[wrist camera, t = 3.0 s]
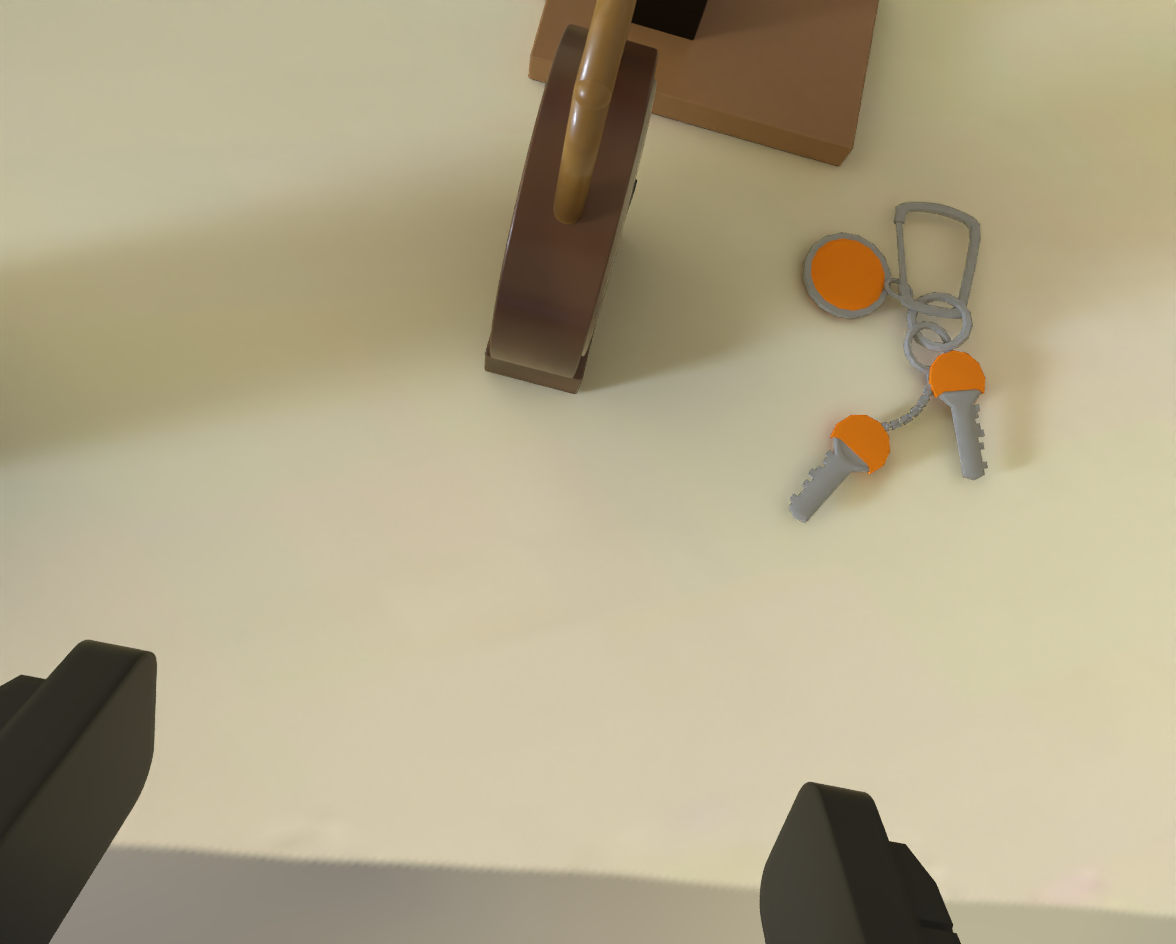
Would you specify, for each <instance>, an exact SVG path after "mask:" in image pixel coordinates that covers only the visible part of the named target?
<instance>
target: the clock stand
mask: <svg viewBox="0 0 1176 944" xmlns="http://www.w3.org/2000/svg"><path fill="white" fill-rule="evenodd" d="M878 2H879V0H637V1H636V5H635V9H634V13H633V17H632V21H631V25H630V29H629V33H628V37H627V40H628V41H632V42H635V43H638V44H642V45H645V46H649V47H652V48H656V49H657V50H658V61H657V66H656V71H655V76H654V79H656V81H657V84H656V91H655V97H654V102H653V107H652V111H651V113H654V114H657V115H661V116H664V117H668V118H671V119H675V120H678V121H682V122H685V123H689V124H692V125H696V126H699V127H703V128H706V129H710V130H713V131H717V132H720V133H724V134H727V135H731V136H734V137H738V138H742V139H745V140H749V141H752V142H756V143H759V144H763V145H766V146H770V147H773V148H777V149H780V150H784V151H787V152H791V153H794V154H798V155H801V156H805V157H808V158H812V159H815V160H819V161H822V162H826V163H829V164H833V165H836V166H840V165H841V164H842V162H843V161H844V160H845V158H846V157H847V156H848V154H849V153H850V152H851V150H852V149H853V144H854V139H855V133H856V127H857V122H858V116H859V110H860V104H861V99H862V93H863V87H864V82H865V76H866V70H867V65H868V59H869V53H870V48H871V42H872V36H873V30H874V25H875V19H876V13H877V8H878ZM596 3H597V0H546V2H545V6H544V9H543V13H542V17H541V20H540V24H539V27H538V31H537V34H536V38H535V41H534V45H533V48H532V52H531V55H530V65H529V78H531V79H534V80H538V81H541V82H545V83H546V82H547V78H548V75H549V72H550V69H551V65H552V62H553V59H554V56H555V53H556V50H557V47H558V44H559V42H560V39H561V36H562V34H563V32H564V30H565V28H566V27H567V25H569V24H573V25H577V26H580V27H584V28H587V29H590V25H591V21H592V18H593V14H594V10H595V6H596Z"/></svg>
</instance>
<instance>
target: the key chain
mask: <svg viewBox="0 0 1176 944" xmlns="http://www.w3.org/2000/svg"><path fill="white" fill-rule="evenodd" d="M908 212H928V213H935V214H939V215H943V216H947V217H950V218H952V219H955V220H958V221H960V222H962V223H964V224H965V225H966V226H967V227H968V229H969V247H968V253H967V259H966V264H965V270H964V274H963V279H962V283H961V288H960V292H959V297H958V299H957V298H956V297H954V296H952V295H950V294H946V293H938V292H933V293H930V294H926V295H923V296H920V297H919V298H918V299H917V300H916V301H915V300H913V299H912V297H913V291H912V289H911V287H910V286H909V285H908V284H907V279H906V266H905V254H904V241H903V229H902V225H903V224H904V222H905V216H906V213H908ZM894 224H896V231H897V246H898V261H899V277H900V279H896V278H891V279H890V277H891V273H890V270H889V267H888V265H887V262H886V259H885V257H884V256H883V255H882V253H881V252H880V251H879V250H878V249H877V248H876V246H875V245H874V244H873V243H871V242H869V241H867V240H866V239H864V238H862V237H860V236H859V235H853V234H848V233H837V234H833V235H828V236H825V237H824V238H822V239H821V240H820V241H818V242H817V243H816V244H814V245H813V246H812V247H811V249H810V251H809V253H808V255H807V256H806V258H805V260H804V266H803V280H804V283H805V286H806V289H807V292H808V294H809V295H810V296H811V298H812V299H813V300H814V301H815V302H816V304H817V305H818V306H819V307H820V308H822V309H823V310H825V311H827V312H828V313H830V314H832V315H834V316H837V317H843V318H849V319H854V318H859V317H863V316H867V315H869V314H870V313H872V312H873V311H874V310H875V309H877V308H878V307H879V306H881V305H882V304H883V302H884V300H885V298H886V296H887V294H889V295H890V296H892V297H893V298H895V299H897V300H900V302H901V304H902V305H903V306H904V307H906V308H908V309H909V312H908V315H907V317H906V318H907V324H908V332H907V333H906V336H905V340H904V351H905V356H906V358H907V359H908V361H909V362H910V364H911V365H912V366H913V367H915V368H916V369H918V370H919V371H921V372H923V373H927V378H926V381H927V384H926V385H925V387H924V390H923V393H924V395H922V396H921V397H920V399H919V400H918V402H917V403H919V404H918V405H915V406H914V407H913V408H912V409H911V410H910V412H911V413H910V414H909V413H907V414H905V415H903V416H902V417H900V418H901V420H900V421H899V419H896V420H893V421H890V424H887V422H885V423H880V422H878V421H876V420H874V419H873V418H871V417H869V416H867V415H850V416H849V417H847V418H845V419H844V420H842V421H841V422H839V423H837V424H836V426H835V428H834V430H833V432H832V434H831V436H830V438H833V451H834V453H833V452H832V451H831V450H829V451H828V452H827V453H826V454H825V456H826V458H825V459H824V461H823V462H824V463H825V464H826V465H825V467H824V468H822V467H820V466H818V467H817V468H816V469H812V470H811V471H810V472H809V473H808V474H809V475H810V476H811V477H812V478H813V480H812V481H811V482H809V481H808V480H805V481H804V483H803V484H802V486H804V487H805V489H804V490H803V491H802V492H801V493H800V494H799V495H798V496H796V495H795V494H793V495H792V496H791V497H790V498H789V499H790V500H791V501H792V503H791V504H790V505H789V506H788V507H789V509H790V511H791V513H792V515H793V517H794V518H796V519H798V520H800V521H802V522H804V523H806V522H807V521H808V520H809V519H810V517H811V516H812V515H813V514H814V513H815V512H816V511H817V510H818V509H819V507H820V506H821V505H822V504H823V503H824V502H825V501H826V500H827V498H828V497H829V496H830V495H831V494H832V493H833V492H834V491H835V489H836V488H837V487H838V486H839V485H840V484H841V483H842V482H843V481H844V479H845V478H846V477H847V476H848V475H849V474H850V473H851V472H868V474H871V473H872V472H874V471H876V470H877V469H879V468H880V467H882V466H883V465H884V463H885V461H886V459H887V457H888V455H889V453H890V444H889V436H888V434H887V432H886V431H889V428H892V430H893V429H896V428H899V427H901V426H902V425H901V423H904V425H905V424H907V423H908V422H910V421H911V420H913V418H912V417H913V416H914V417H917V416H918V415H919V414H920V413H921V411H922V409H921V408H922V407H926V405H927V403H928V402H929V400H930V399H929V396H931V395H932V393H933V395H934V397H935V398H936V397H939V398H940V399H941V400H942V401H943V402H945V403H946V404H947V405H948V406H950V407H951V411H952V417H953V423H954V428H955V434H956V440H957V445H958V451H959V457H960V462H961V468H962V474H963V477H964V478H968V479H972V480H976V479H978V478H980V477H981V476H983V475H985V473H984V469H985V468H988V466H987V462H982V457H981V451H980V450H981V449H984V444H983V443H979V440H978V437H982V436H985V435H984V430H981V427H980V423H979V424H976V423H975V418H978V417H979V416H978V411H980V408H979V404H978V405H973V404H974V403H975V401H976V400H977V398H978V397H979V395H980V394H983V393H984V390H985V376H984V374H983V372H982V369H981V367H980V365H979V363H978V362H977V361H976V360H975V359H973V358H972V357H971V356H970V355H969V354H968V353H964V352H959V351H954V350H953V349H956V348H959V347H960V346H961V345H962V344H963V343H964V342H965V341H966V340H967V339H968V338H969V335H970V332H971V329H972V326H973V325H972V320H971V314H970V312H969V310H968V309H967V303H968V298H969V294H970V289H971V285H972V280H973V276H974V271H975V266H976V260H977V255H978V249H979V243H980V224H979V223H978V221H977V220H976V219H975V218H973V217H972V216H970V215H968V214H966V213H964V212H962V211H959V210H957V209H954V208H952V207H949V206H945V205H941V204H935V203H925V202H909V203H902V204H900V205H898V206H896V211H895V217H894ZM890 283H897V284H899V286H898V290H899V295H898V294H896V293H894V292H893V291H892V290H891V289H890ZM933 301H943V302H947V303H949V304H951V305H953V306H954V308H952V309H948V308H942V307H937V306H932V305H928V304H926V303H929V302H933ZM918 312H920V313H924V314H928V315H932V316H937V317H943V318H952V319H960V318H962V322H963V326H962V329H961V332H960V334H959V335H958V336H957V337H956V338H955V339H954V340H952V341H951V339H950V337H949V335H948V334H947V332H946V331H945V329H943V328H942V327H940V326H939V325H937V324H936V323H932V322H926V321H923V322H920V323H916V317H917V314H918ZM923 329H930V330H933V331H935V332H936V333H938V334H939V336H940V337H941V339H942V340H943V342H944V343H938V342H932V341H930V340H928V339H927V338H925V337H923V335H922V334H921V333H920V330H923ZM912 338H914V339H915V341H916V342H917V343H919V344H920V345H922V346H924V347H925V348H927V349H929V350H934V351H942V352H945V353H944V354H942V355H939V356H938V357H937V358H936V360H935V361H934V363H933V364H932V365H931V366H926V365H923V364H921V363H920V362H918V361H917V359H916V358H915V356H914V355H913V353H912V348H911V342H912Z"/></svg>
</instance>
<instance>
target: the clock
mask: <svg viewBox="0 0 1176 944" xmlns="http://www.w3.org/2000/svg"><path fill="white" fill-rule="evenodd" d="M636 1H637V0H597V3H596V6H595V10H594V14H593V18H592V21H591V25H590V29H587V28H584V27H580V26H577V25H573V24H569V25H567V27H566V28H565V30H564V32H563V34H562V36H561V39H560V42H559V44H558V47H557V50H556V53H555V56H554V59H553V62H552V65H551V69H550V72H549V75H548V78H547V82H546V85H545V89H544V92H543V96H542V100H541V103H540V107H539V111H538V114H537V118H536V122H535V126H534V130H533V133H532V137H531V141H530V145H529V149H528V153H527V157H526V161H525V166H524V170H523V174H522V178H521V182H520V187H519V191H518V195H517V199H516V204H515V208H514V213H513V217H512V222H511V226H510V231H509V236H508V240H507V245H506V250H505V255H504V260H503V265H502V270H501V275H500V280H499V286H498V291H497V297H496V302H495V308H494V315H493V321H492V329H491V334H490V338H489V341H488V345H487V349H486V352H485V370H486V371H488V372H492V373H496V374H500V375H504V376H508V377H512V378H515V379H519V380H523V381H527V382H531V383H535V384H539V385H542V386H546V387H550V388H554V389H558V390H562V391H566V392H569V393H573V394H576V393H577V392H578V389H579V386H580V384H581V381H582V378H583V374H584V370H585V366H586V362H587V358H588V354H589V349H590V345H591V341H592V337H593V333H594V329H595V325H596V321H597V318H598V315H599V311H600V308H601V304H602V301H603V298H604V294H605V291H606V287H607V284H608V280H609V277H610V273H611V269H612V266H613V262H614V259H615V255H616V251H617V248H618V244H619V240H620V236H621V233H622V229H623V225H624V221H625V218H626V215H627V212H628V209H629V206H630V203H631V200H632V197H633V194H634V191H635V187H636V183H637V180H636V175H637V171H638V167H639V163H640V159H641V154H642V150H643V146H644V142H645V138H646V134H647V129H648V125H649V120H650V116H651V111H652V107H653V102H654V97H655V91H656V84H657V81H656V79H654V76H655V71H656V66H657V61H658V50H657V49H656V48H652V47H649V46H645V45H642V44H638V43H635V42H632V41H628V40H627V37H628V33H629V29H630V25H631V21H632V17H633V13H634V9H635V5H636Z"/></svg>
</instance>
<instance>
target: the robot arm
mask: <svg viewBox="0 0 1176 944" xmlns="http://www.w3.org/2000/svg"><path fill="white" fill-rule="evenodd" d="M156 676H157V662H156V657H155V655H154V653H152V652H149V651H144V650H139V649H134V648H129V647H124V646H119V645H113V644H108V643H103V642H98V641H93V640H84V641H82V642H80V643H79V644H78V645H77V646H76V647H74V648H73V650H72V651H71V652H70V653H69V654H68V655H67V656H66V657H65V659H64V660H63V661H62V662H61V663H60V664H59V665H58V666H57V668H56V669H55V670H54V671H53V672H52V673H51V674H50V675H49V677H48V678H47V679H41V678H36V677H31V676H25V675H20V676H18V677H16V678H14V679H13V680H11V681H9V682H7V683H5V684H4V685H2V686H0V944H49V942H50V940H51V939H52V937H53V935H54V934H55V932H56V931H57V929H58V927H59V926H60V924H61V923H62V921H63V919H64V918H65V916H66V914H67V913H68V911H69V910H70V908H71V906H72V905H73V903H74V902H75V900H76V898H77V897H78V895H79V894H80V892H81V890H82V889H83V887H84V886H85V884H86V882H87V880H88V879H89V877H90V876H91V874H92V873H93V871H94V869H95V868H96V866H97V865H98V863H99V861H100V860H101V858H102V857H103V855H104V853H105V852H106V850H107V848H108V847H109V845H110V844H111V842H112V840H113V839H114V837H115V836H116V834H117V832H118V831H119V829H120V828H121V826H122V824H123V823H124V821H125V819H126V818H127V816H128V815H129V813H130V811H131V810H132V808H133V807H134V805H135V803H136V801H137V800H138V798H139V796H140V794H141V791H142V789H143V787H144V784H145V782H146V779H147V776H148V773H149V770H150V766H151V762H152V758H153V751H154V732H155V704H156ZM760 915H761V921H762V927H763V932H764V937H765V943H766V944H961V943H960V940H959V938H958V936H957V934H956V933H953V930H952V927H953V923H952V921H951V918H950V916H949V914H948V911H947V909H946V906H945V904H944V901H943V899H942V896H941V894H940V892H939V889H938V887H937V884H936V882H935V881H934V880H933V879H932V877H931V876H930V875H929V874H928V872H927V871H926V870H925V868H924V867H923V866H922V865H921V863H920V862H919V861H918V859H917V858H916V857H915V856H914V854H913V853H912V852H911V851H910V849H909V848H908V847H907V845H906V844H902V843H896V842H891V841H889V840H888V837H887V834H886V831H885V829H884V826H883V823H882V821H881V818H880V815H879V813H878V810H877V807H876V805H875V803H874V800H873V799H872V797H871V796H870V795H869V794H867V793H865V792H860V791H855V790H850V789H845V788H840V787H834V786H829V785H824V784H819V783H814V782H808V783H806V784H804V785H803V786H802V788H801V789H800V791H799V793H798V795H797V797H796V799H795V801H794V803H793V805H792V808H791V810H790V812H789V814H788V816H787V818H786V821H785V823H784V825H783V827H782V829H781V831H780V834H779V836H778V838H777V840H776V842H775V844H774V847H773V849H772V851H771V853H770V855H769V857H768V860H767V862H766V864H765V867H764V871H763V875H762V880H761V887H760Z"/></svg>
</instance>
